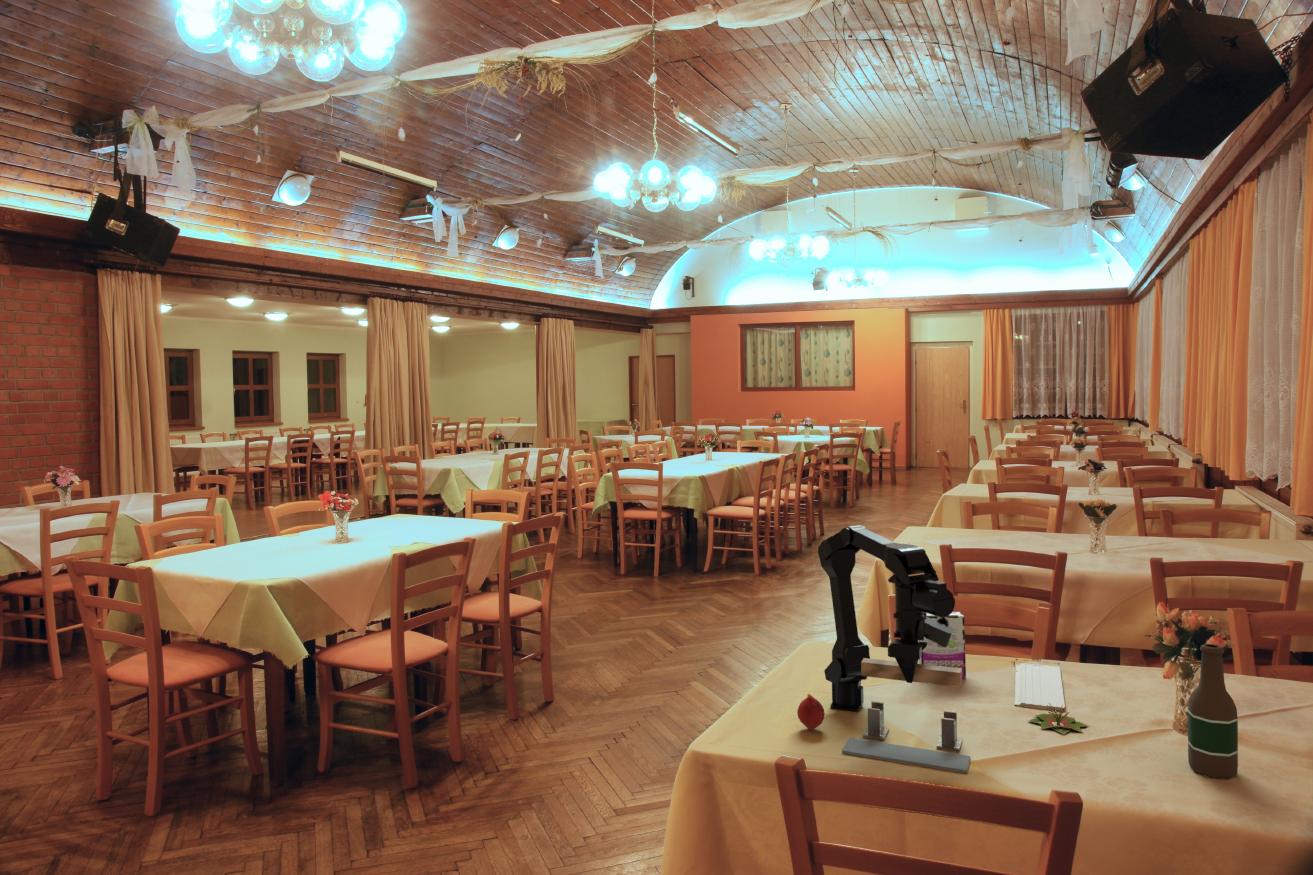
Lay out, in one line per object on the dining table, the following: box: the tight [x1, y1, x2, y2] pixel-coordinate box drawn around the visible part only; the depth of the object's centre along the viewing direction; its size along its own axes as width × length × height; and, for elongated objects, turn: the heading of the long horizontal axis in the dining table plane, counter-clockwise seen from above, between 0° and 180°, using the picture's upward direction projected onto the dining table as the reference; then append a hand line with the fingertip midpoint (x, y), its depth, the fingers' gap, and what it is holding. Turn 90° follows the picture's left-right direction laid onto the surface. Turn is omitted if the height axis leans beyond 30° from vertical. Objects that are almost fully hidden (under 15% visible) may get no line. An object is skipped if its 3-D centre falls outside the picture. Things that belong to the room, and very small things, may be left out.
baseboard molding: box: [1010, 658, 1066, 712], centre depth 200 cm, size 31×3×12 cm
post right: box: [936, 710, 963, 753], centre depth 167 cm, size 4×6×6 cm
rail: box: [861, 658, 963, 688], centre depth 169 cm, size 20×3×3 cm, turn 64°
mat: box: [841, 737, 971, 774], centre depth 162 cm, size 24×7×1 cm, turn 64°
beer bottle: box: [1187, 643, 1239, 781], centre depth 152 cm, size 8×8×24 cm
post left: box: [862, 700, 890, 741], centre depth 174 cm, size 4×6×6 cm
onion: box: [796, 693, 825, 731], centre depth 177 cm, size 6×6×8 cm
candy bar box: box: [918, 611, 967, 679], centre depth 209 cm, size 11×5×16 cm, turn 82°
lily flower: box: [1027, 703, 1090, 736], centre depth 176 cm, size 12×12×5 cm
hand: (910, 680), depth 170 cm, fingers closed on rail, 3 cm apart
